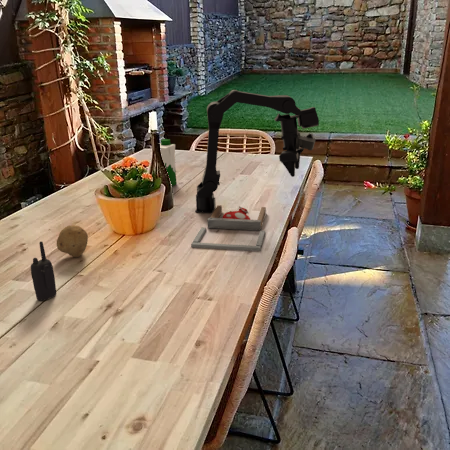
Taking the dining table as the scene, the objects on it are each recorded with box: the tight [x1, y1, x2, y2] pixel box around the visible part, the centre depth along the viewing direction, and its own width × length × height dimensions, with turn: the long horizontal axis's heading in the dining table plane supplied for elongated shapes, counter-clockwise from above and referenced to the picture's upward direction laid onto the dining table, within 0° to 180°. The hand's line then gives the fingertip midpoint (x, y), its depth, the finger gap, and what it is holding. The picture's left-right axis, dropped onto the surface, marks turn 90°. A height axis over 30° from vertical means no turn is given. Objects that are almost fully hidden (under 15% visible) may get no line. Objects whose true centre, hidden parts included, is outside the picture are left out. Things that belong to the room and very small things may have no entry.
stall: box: [209, 204, 267, 228], centre depth 169 cm, size 18×15×2 cm
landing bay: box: [190, 227, 266, 252], centre depth 152 cm, size 22×14×1 cm, turn 79°
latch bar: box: [207, 217, 262, 232], centre depth 160 cm, size 18×2×3 cm, turn 79°
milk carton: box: [159, 138, 177, 187], centre depth 208 cm, size 9×9×20 cm
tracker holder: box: [221, 206, 251, 220], centre depth 168 cm, size 12×4×10 cm
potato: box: [56, 224, 89, 258], centre depth 141 cm, size 9×9×10 cm
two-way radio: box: [30, 241, 57, 302], centre depth 117 cm, size 6×4×15 cm
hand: (295, 172), depth 176 cm, fingers open, 9 cm apart
